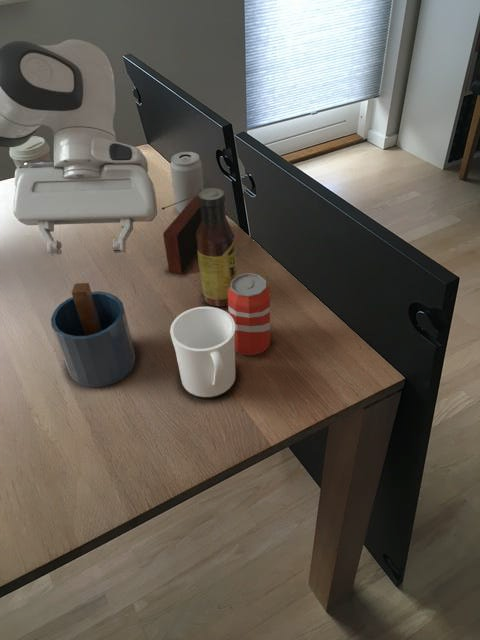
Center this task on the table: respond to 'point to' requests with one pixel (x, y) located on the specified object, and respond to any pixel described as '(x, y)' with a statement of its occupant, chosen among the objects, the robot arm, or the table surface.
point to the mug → (205, 351)
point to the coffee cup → (30, 151)
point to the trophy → (86, 308)
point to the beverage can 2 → (250, 313)
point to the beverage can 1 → (186, 177)
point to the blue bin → (95, 342)
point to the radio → (183, 236)
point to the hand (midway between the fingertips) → (86, 253)
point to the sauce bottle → (215, 248)
